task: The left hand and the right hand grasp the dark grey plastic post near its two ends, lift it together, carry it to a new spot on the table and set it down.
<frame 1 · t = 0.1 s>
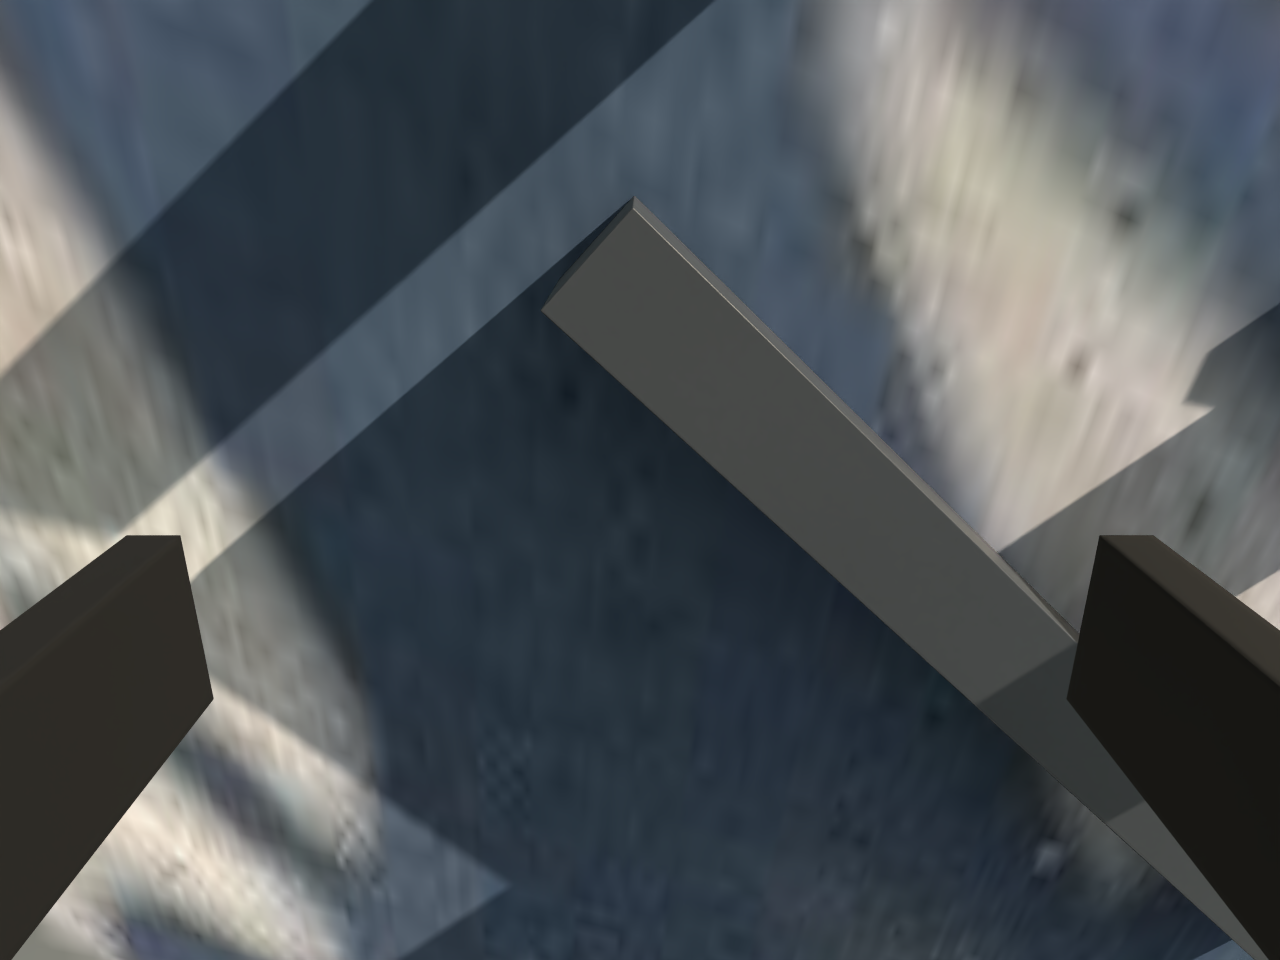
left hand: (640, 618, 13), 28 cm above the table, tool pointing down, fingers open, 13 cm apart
post: (997, 622, 45), on the table
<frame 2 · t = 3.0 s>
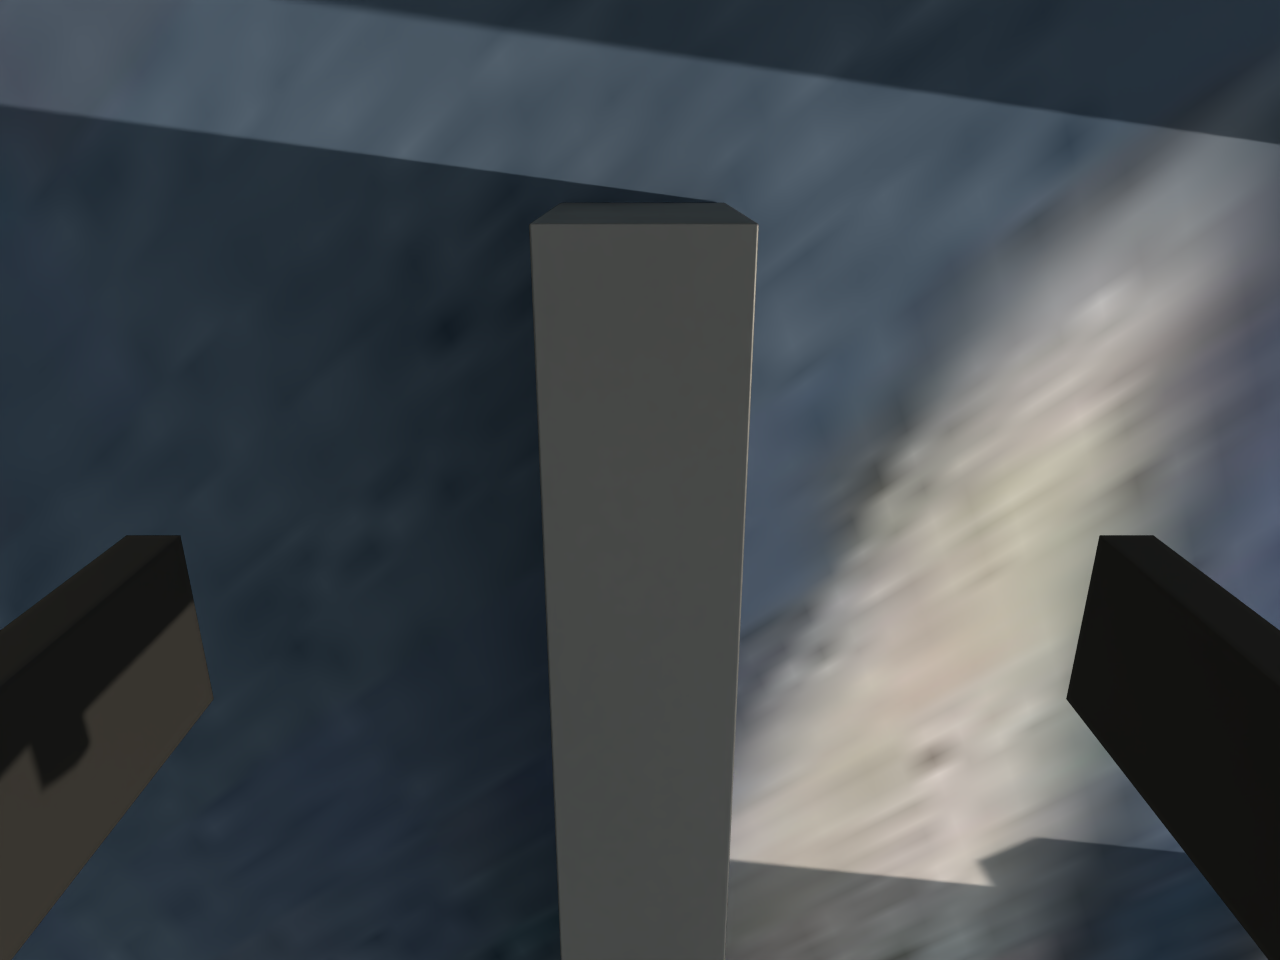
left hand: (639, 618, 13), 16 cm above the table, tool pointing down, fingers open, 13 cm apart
post: (642, 917, 35), on the table, touching right hand
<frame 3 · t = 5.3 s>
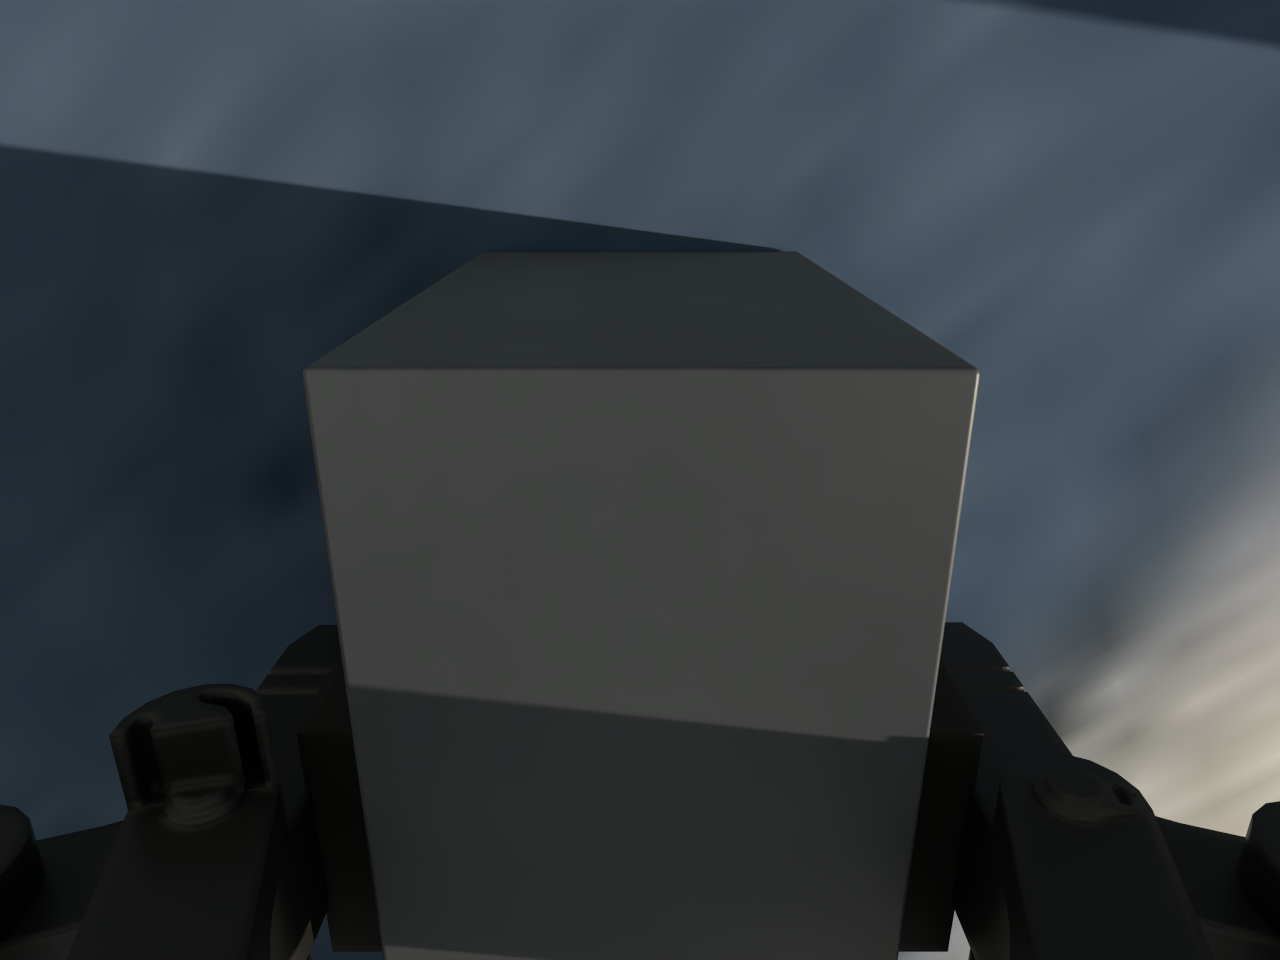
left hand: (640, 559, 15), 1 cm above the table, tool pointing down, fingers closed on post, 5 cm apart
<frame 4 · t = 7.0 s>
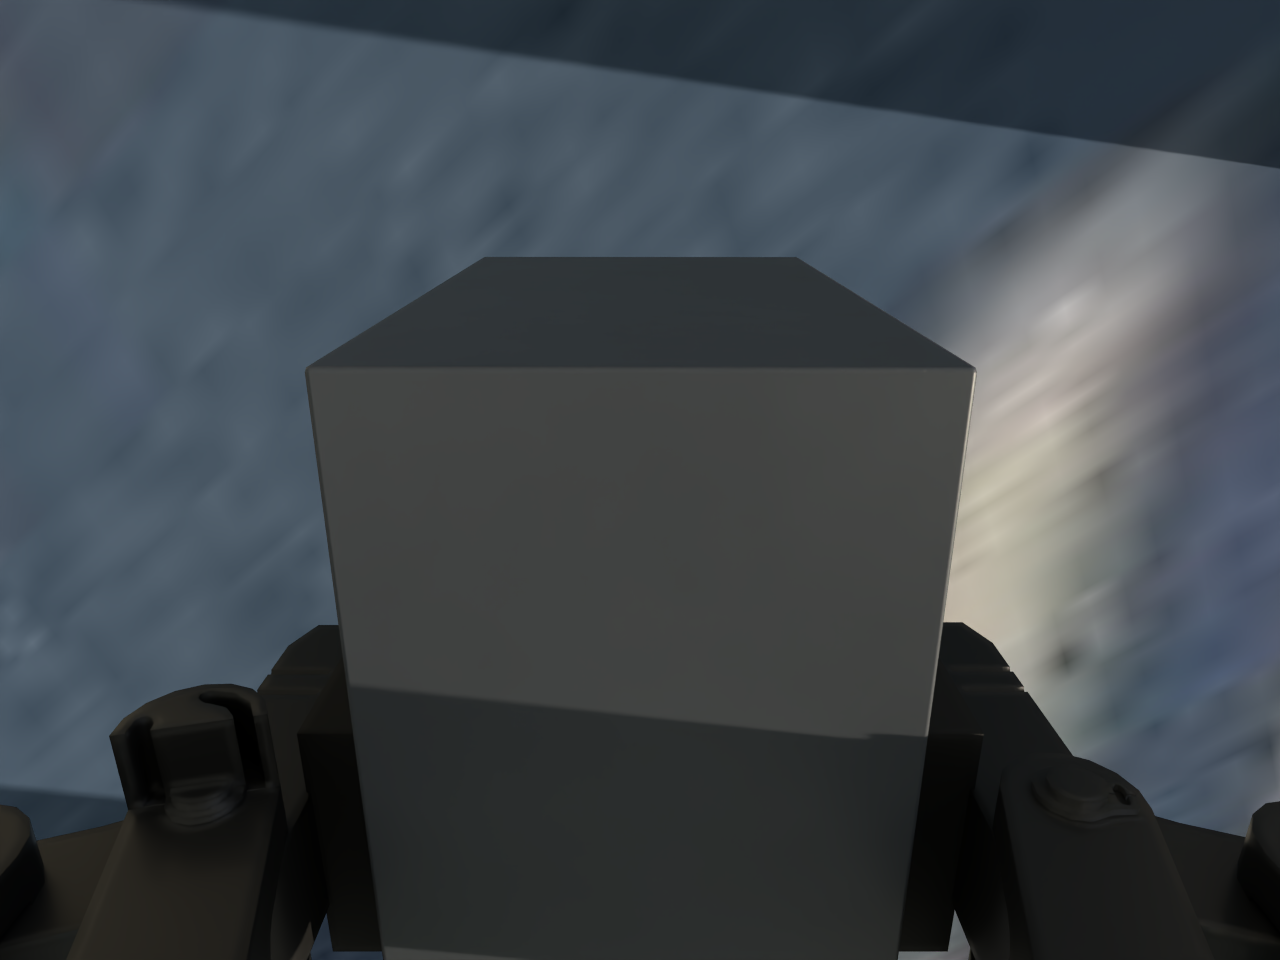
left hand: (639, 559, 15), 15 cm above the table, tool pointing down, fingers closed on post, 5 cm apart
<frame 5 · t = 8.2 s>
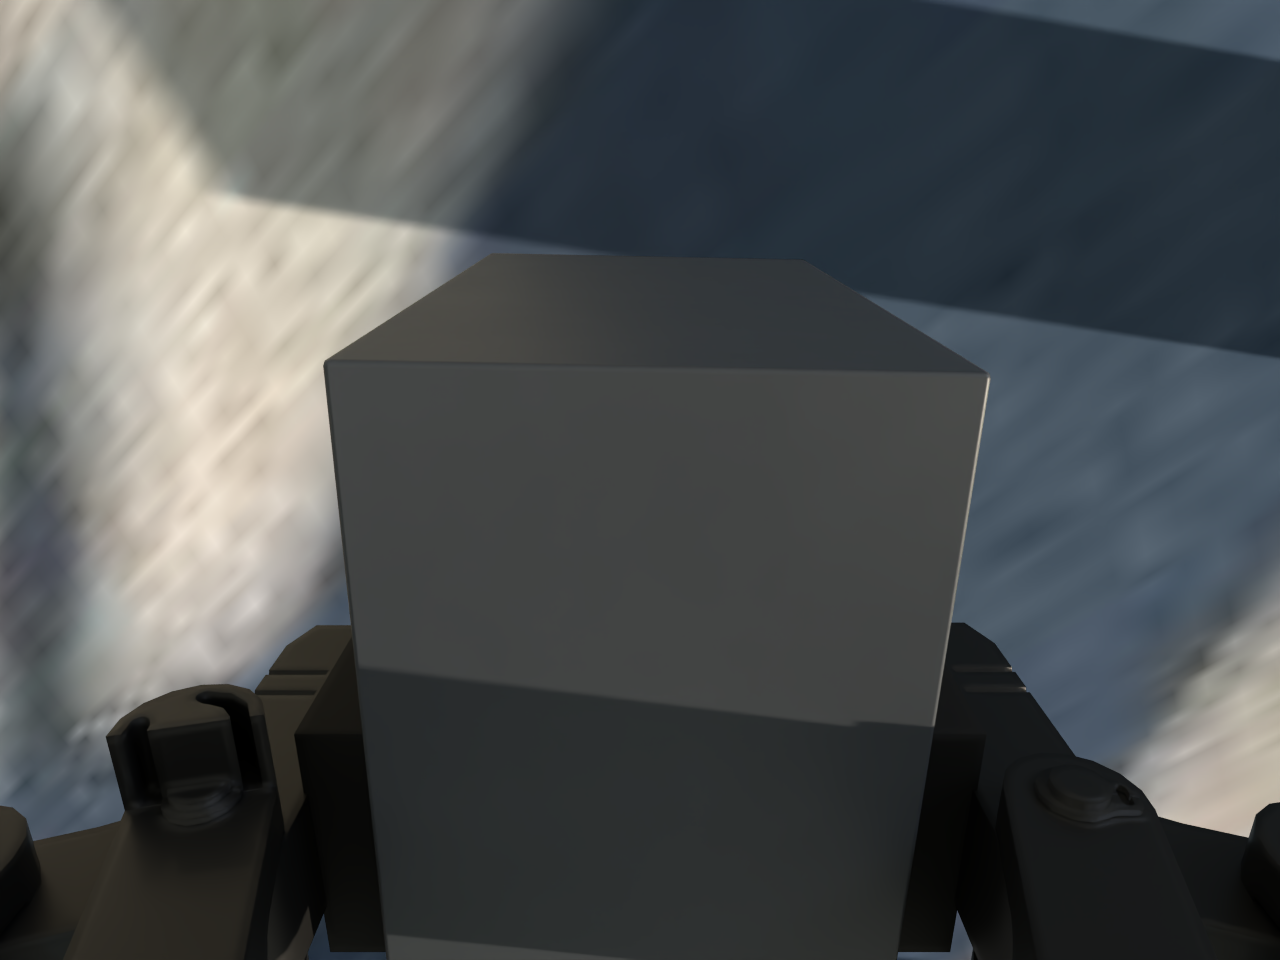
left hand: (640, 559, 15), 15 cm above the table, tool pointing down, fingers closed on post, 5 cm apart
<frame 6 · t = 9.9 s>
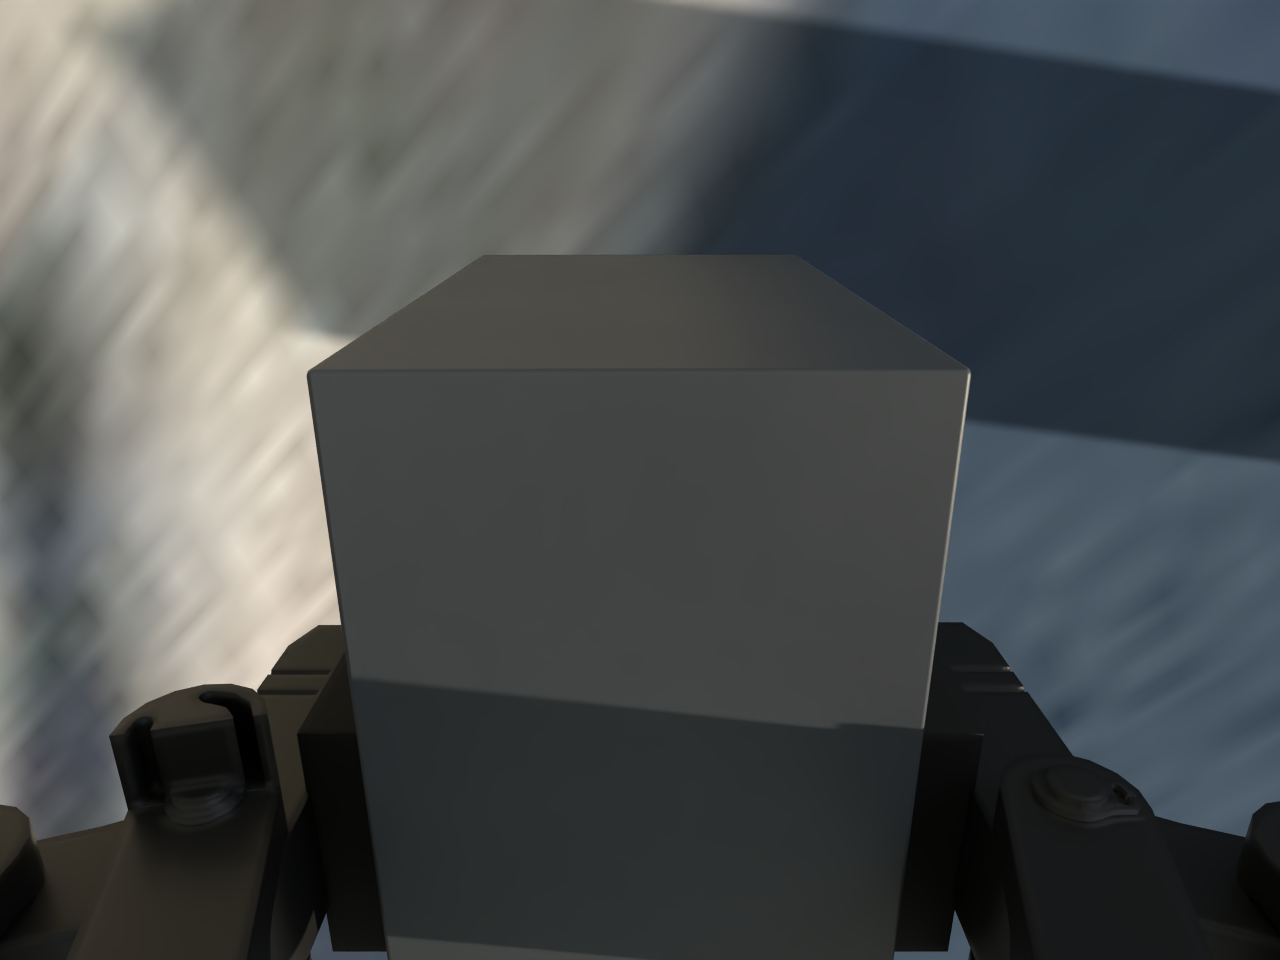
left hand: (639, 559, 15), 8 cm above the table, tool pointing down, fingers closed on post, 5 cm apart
when the left hand's fingers open (1 cm above the table, at t = 11.2 s): post stays where it is, on the table.
when the right hand's fingers open (4 cm above the table, at t = 11.4 s): post stays where it is, on the table.
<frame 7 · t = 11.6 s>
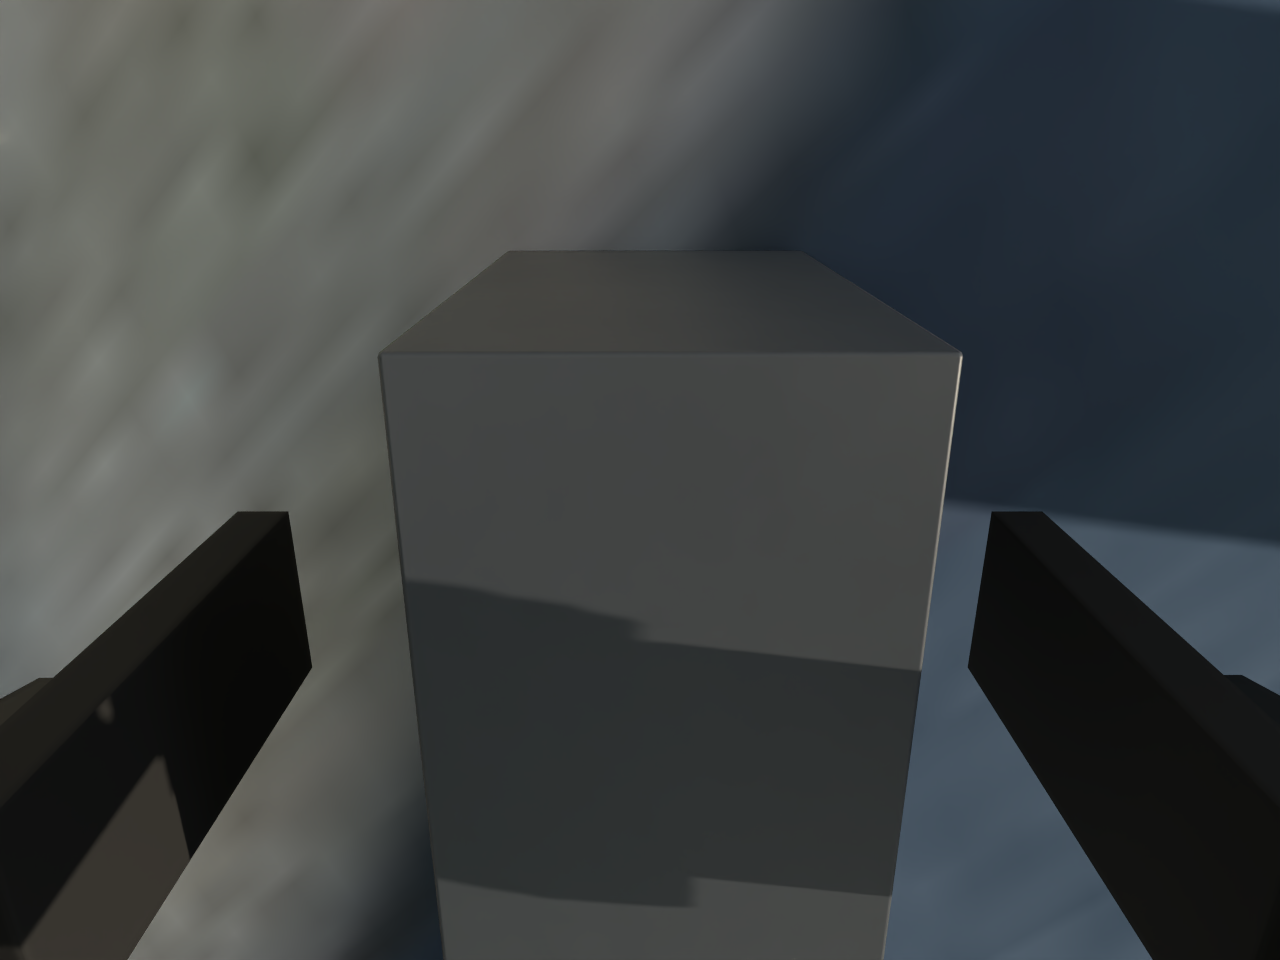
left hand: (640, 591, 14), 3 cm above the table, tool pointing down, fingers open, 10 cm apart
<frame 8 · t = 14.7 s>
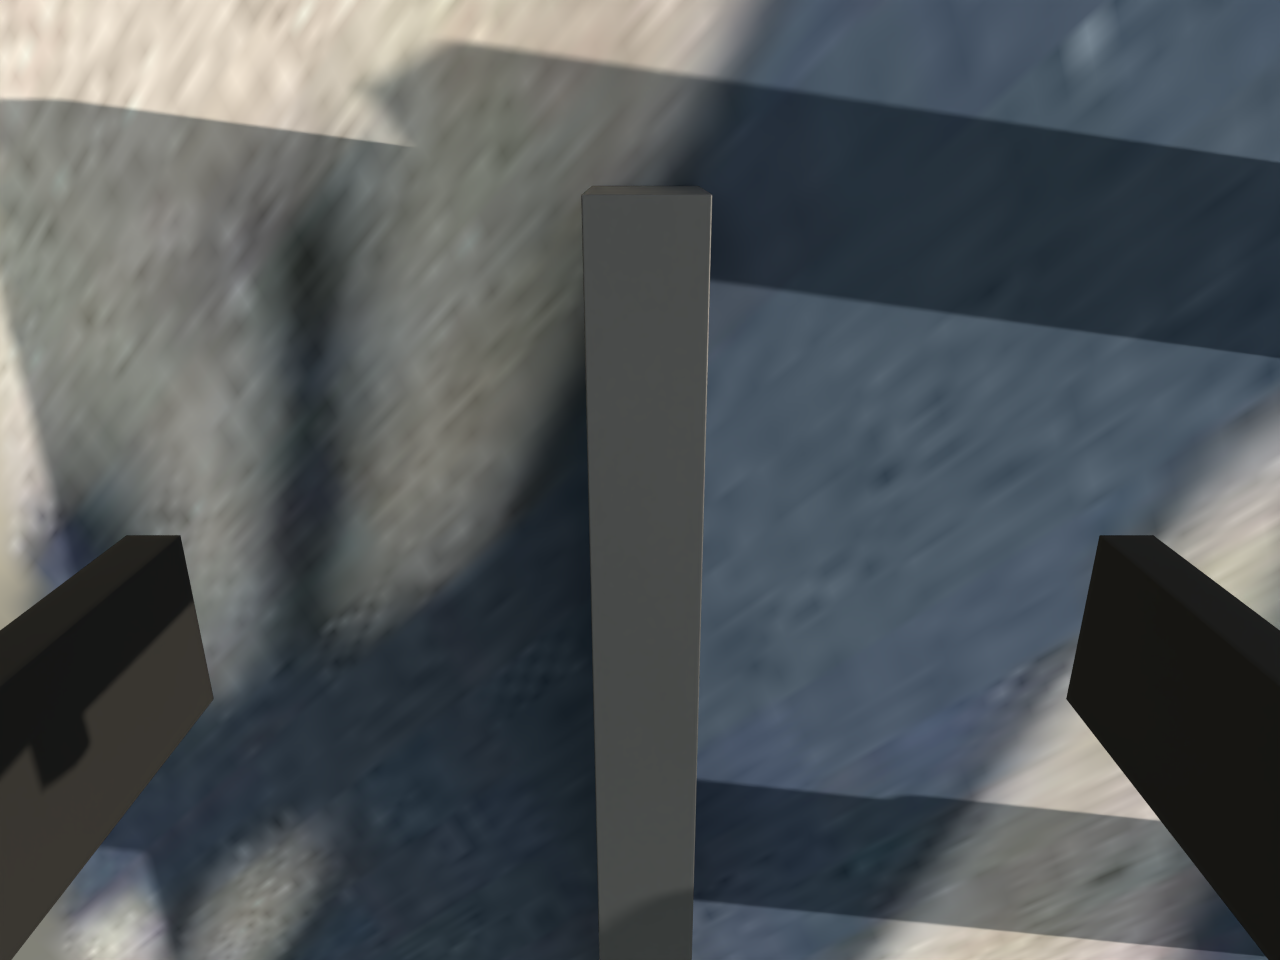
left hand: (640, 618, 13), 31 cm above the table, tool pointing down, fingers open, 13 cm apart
post: (644, 701, 49), on the table
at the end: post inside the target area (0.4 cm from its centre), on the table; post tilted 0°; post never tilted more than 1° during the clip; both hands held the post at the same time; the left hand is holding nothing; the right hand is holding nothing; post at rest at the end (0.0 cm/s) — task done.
